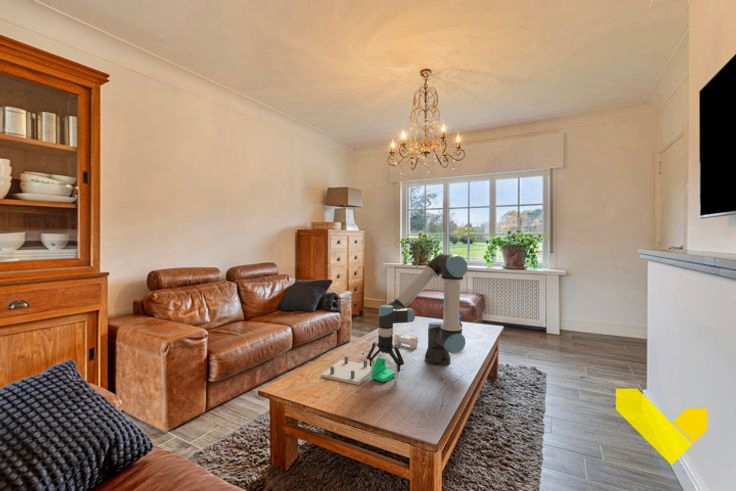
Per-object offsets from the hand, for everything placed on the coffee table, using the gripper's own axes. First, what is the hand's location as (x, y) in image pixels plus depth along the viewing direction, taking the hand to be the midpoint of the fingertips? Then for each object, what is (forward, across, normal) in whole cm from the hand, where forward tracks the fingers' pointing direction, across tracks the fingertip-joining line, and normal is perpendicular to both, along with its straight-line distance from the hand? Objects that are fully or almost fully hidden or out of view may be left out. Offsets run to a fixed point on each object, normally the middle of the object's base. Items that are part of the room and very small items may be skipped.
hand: (384, 375), depth 178 cm
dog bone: (+2, +5, -53) cm, 53 cm away
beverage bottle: (+1, -25, -71) cm, 75 cm away
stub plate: (+2, +20, +2) cm, 20 cm away
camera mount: (+2, 0, 0) cm, 2 cm away
